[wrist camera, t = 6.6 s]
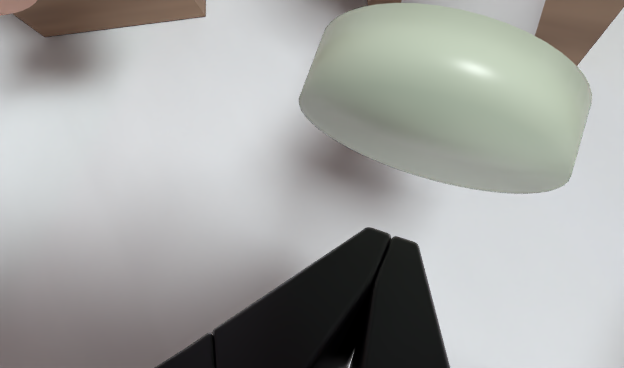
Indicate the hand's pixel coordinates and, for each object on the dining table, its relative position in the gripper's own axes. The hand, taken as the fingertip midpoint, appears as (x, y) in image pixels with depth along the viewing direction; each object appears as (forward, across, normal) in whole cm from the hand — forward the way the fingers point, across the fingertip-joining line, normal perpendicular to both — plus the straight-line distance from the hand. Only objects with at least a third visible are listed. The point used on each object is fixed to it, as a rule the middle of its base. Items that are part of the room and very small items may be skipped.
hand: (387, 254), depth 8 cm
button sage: (+6, 0, -2) cm, 7 cm away
